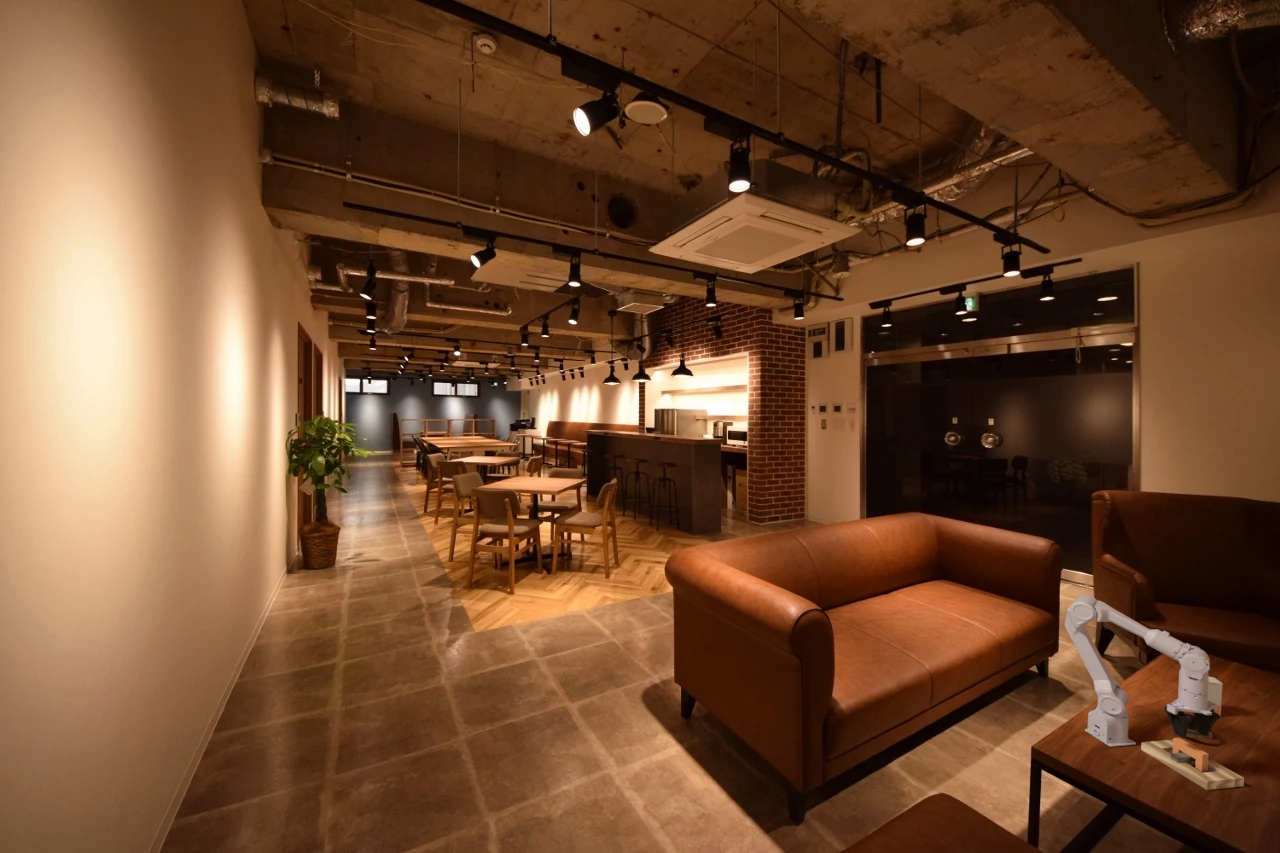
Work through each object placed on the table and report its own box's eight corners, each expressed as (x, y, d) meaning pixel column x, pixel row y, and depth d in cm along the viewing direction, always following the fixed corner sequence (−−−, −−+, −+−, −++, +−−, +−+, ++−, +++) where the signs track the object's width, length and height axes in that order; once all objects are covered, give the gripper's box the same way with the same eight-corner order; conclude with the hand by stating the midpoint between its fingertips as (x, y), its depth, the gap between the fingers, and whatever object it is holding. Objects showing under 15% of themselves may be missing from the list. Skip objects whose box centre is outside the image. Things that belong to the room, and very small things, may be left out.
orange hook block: (1201, 771, 139) (1202, 754, 139) (1172, 754, 146) (1173, 738, 146) (1207, 770, 140) (1208, 754, 140) (1178, 753, 147) (1178, 737, 146)
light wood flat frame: (1206, 790, 134) (1207, 776, 134) (1141, 749, 150) (1141, 737, 150) (1243, 786, 136) (1244, 772, 136) (1174, 746, 152) (1175, 734, 152)
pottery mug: (1226, 747, 152) (1221, 728, 150) (1193, 756, 154) (1189, 738, 152) (1186, 714, 164) (1181, 697, 162) (1156, 723, 165) (1151, 706, 163)
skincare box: (1197, 713, 168) (1199, 679, 168) (1189, 706, 172) (1190, 673, 172) (1221, 717, 166) (1223, 683, 166) (1212, 710, 170) (1214, 677, 170)
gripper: (1188, 699, 137) (1186, 746, 138) (1232, 696, 139) (1229, 742, 140) (1159, 685, 144) (1157, 729, 145) (1201, 682, 146) (1199, 726, 147)
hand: (1191, 734), depth 143 cm, fingers open, 7 cm apart
